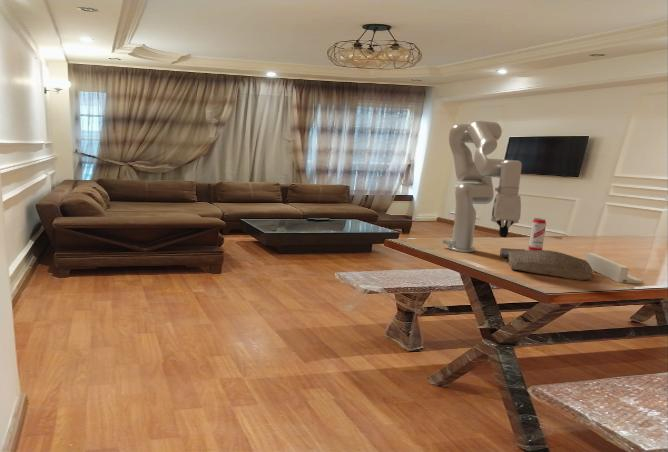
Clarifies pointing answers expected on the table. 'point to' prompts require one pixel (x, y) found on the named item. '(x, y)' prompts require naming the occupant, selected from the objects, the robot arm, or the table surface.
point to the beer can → (537, 234)
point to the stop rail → (610, 269)
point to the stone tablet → (550, 264)
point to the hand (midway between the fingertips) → (503, 236)
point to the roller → (505, 252)
